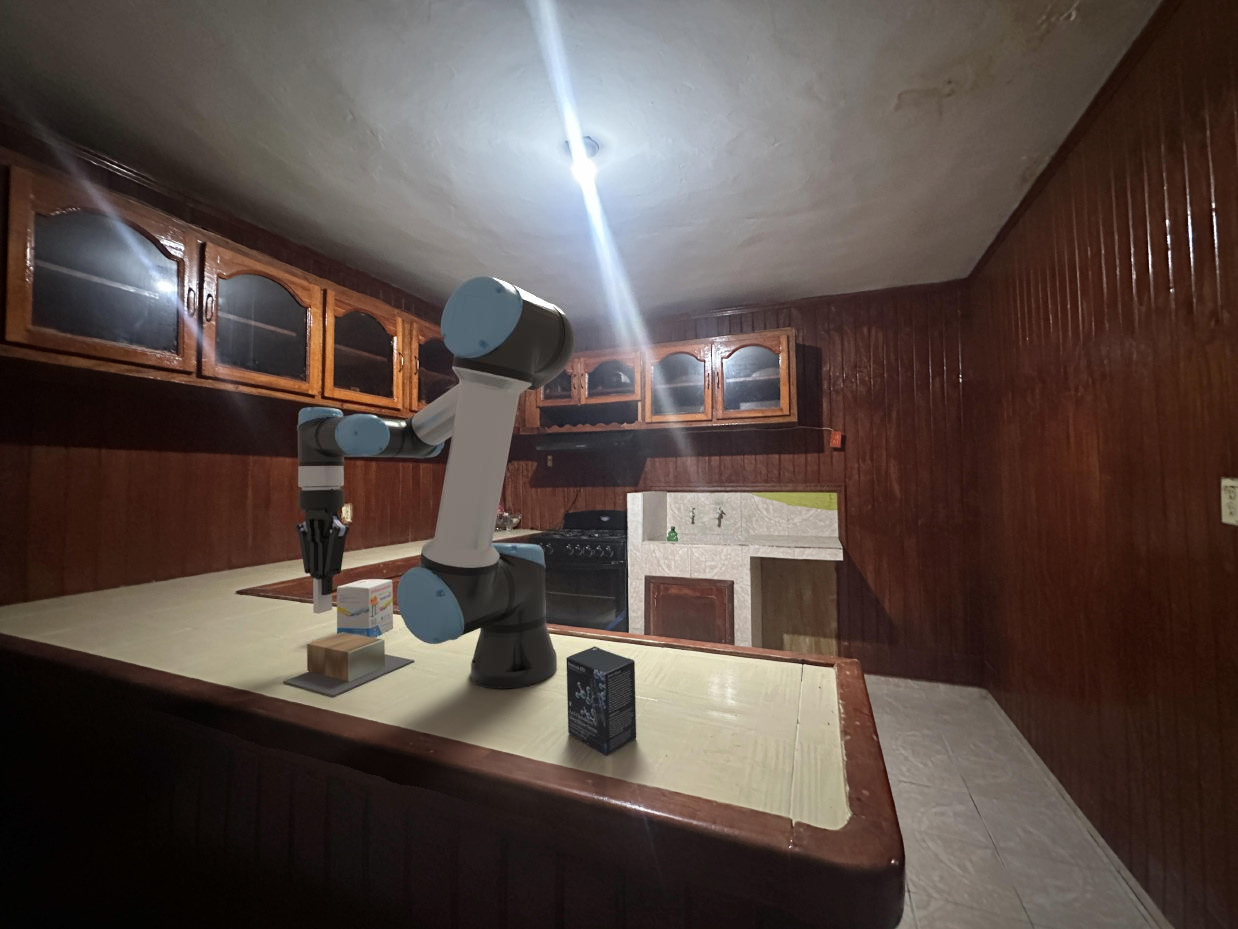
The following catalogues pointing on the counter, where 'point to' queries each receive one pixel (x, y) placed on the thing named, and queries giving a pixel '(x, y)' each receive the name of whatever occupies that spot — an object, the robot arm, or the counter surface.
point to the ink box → (365, 607)
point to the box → (601, 699)
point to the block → (345, 656)
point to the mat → (340, 686)
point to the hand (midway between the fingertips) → (322, 611)
